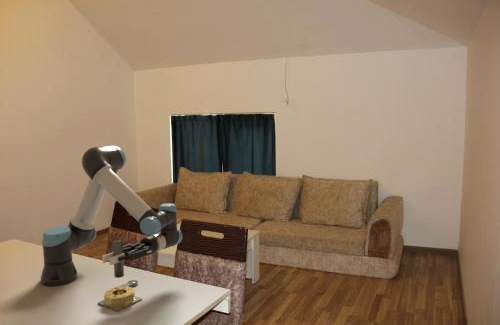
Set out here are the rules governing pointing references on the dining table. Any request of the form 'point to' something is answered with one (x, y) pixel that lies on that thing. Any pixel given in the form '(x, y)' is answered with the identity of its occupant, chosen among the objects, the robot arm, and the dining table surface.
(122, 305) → the ring nut
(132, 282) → the grey bar with ball
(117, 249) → the steel pin
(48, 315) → the dining table surface
